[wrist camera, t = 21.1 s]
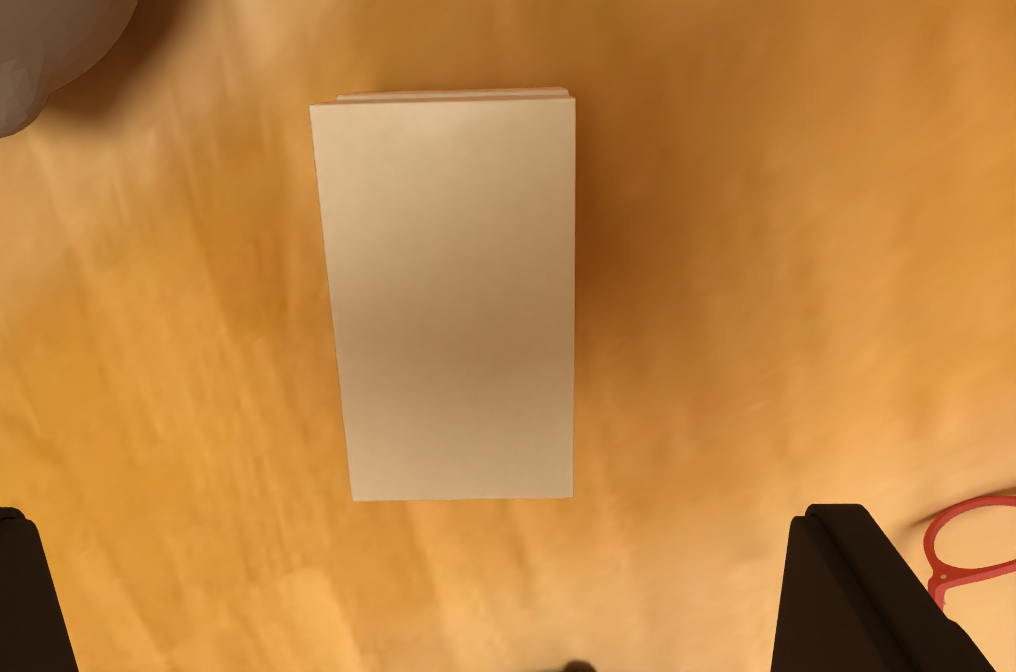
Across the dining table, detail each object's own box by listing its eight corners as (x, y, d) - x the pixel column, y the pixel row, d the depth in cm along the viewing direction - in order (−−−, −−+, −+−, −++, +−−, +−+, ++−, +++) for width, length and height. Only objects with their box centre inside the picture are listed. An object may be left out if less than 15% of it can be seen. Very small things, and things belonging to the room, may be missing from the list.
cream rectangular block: (334, 100, 22) (307, 104, 19) (568, 94, 22) (576, 97, 19) (369, 455, 26) (351, 502, 23) (567, 452, 26) (573, 498, 23)
